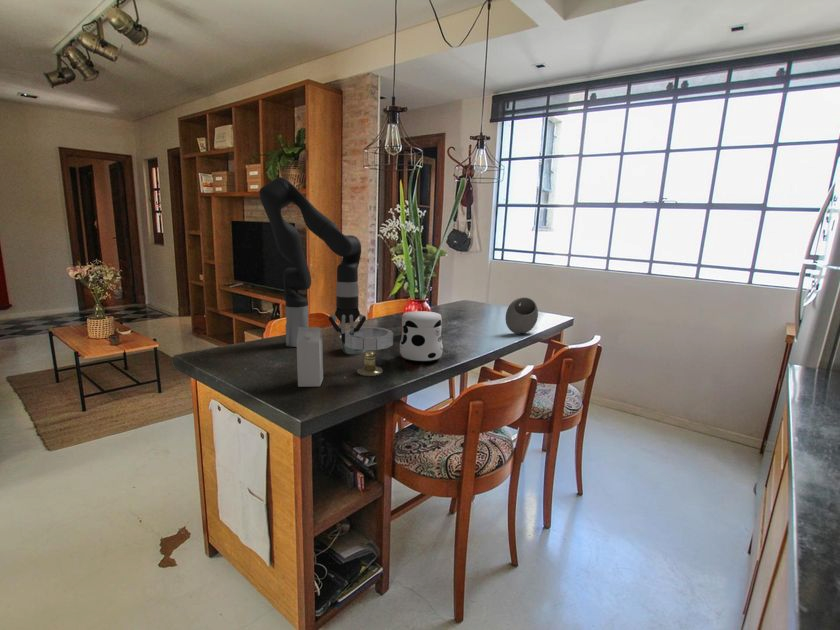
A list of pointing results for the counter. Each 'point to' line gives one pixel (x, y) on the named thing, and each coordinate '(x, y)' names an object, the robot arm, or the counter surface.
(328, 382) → the counter surface
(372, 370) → the brass door knob
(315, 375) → the milk carton
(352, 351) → the food container
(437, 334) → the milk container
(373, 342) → the steel ring
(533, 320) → the planter
